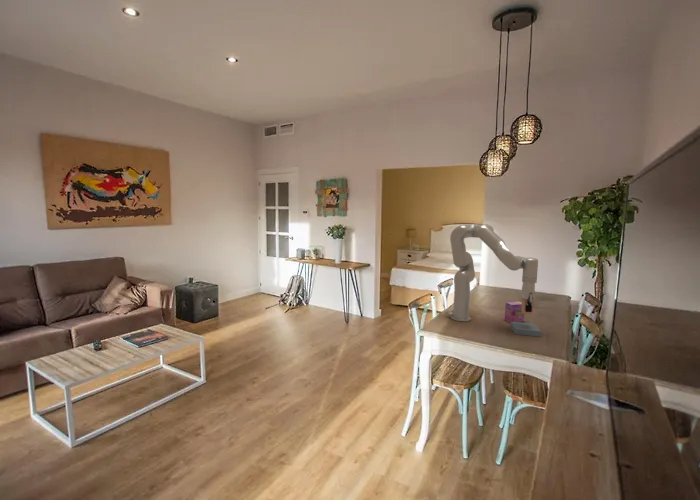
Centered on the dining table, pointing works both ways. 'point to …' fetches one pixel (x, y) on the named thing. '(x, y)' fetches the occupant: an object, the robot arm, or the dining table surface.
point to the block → (525, 307)
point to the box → (514, 312)
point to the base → (525, 329)
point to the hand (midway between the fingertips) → (527, 310)
